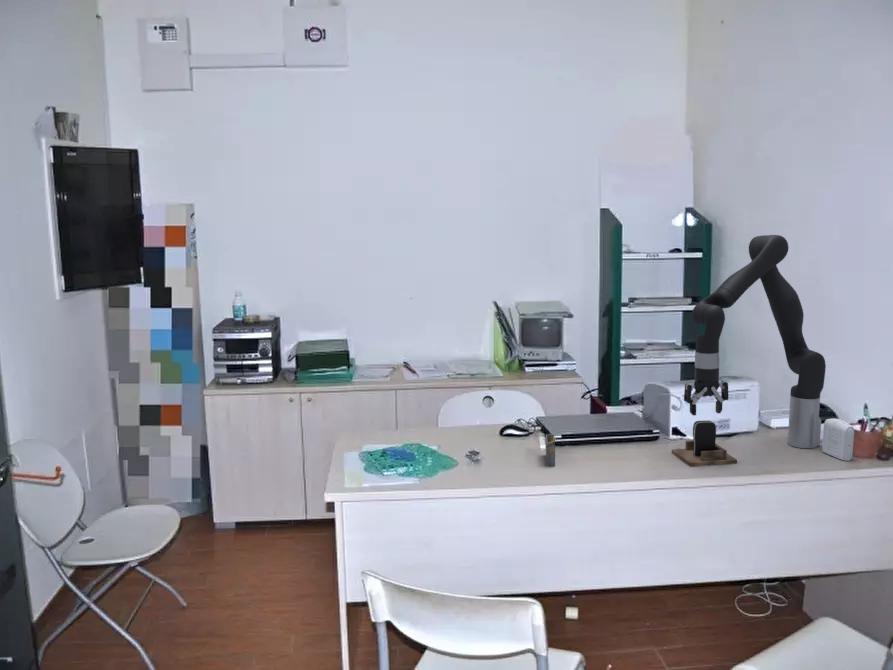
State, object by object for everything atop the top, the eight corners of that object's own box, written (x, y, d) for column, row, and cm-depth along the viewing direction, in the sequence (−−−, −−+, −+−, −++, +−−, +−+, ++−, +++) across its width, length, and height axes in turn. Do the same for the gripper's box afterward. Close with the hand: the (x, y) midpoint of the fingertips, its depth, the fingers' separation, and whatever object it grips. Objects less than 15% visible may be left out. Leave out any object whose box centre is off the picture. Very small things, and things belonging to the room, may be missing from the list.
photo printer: (854, 460, 250) (857, 423, 248) (843, 461, 249) (846, 424, 246) (830, 450, 260) (832, 415, 257) (819, 452, 258) (822, 416, 256)
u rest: (716, 449, 263) (716, 437, 262) (737, 463, 249) (737, 450, 249) (671, 452, 261) (671, 440, 260) (690, 466, 247) (690, 454, 246)
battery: (711, 452, 257) (713, 419, 255) (715, 456, 253) (717, 422, 251) (690, 452, 257) (691, 419, 255) (694, 456, 253) (695, 422, 251)
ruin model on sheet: (556, 467, 250) (556, 439, 249) (547, 467, 251) (547, 439, 249) (555, 456, 261) (555, 428, 260) (545, 456, 262) (545, 428, 260)
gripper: (721, 361, 254) (720, 409, 257) (680, 364, 252) (680, 412, 255) (733, 366, 247) (732, 415, 250) (691, 369, 245) (690, 418, 248)
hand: (705, 413), depth 252 cm, fingers open, 8 cm apart
